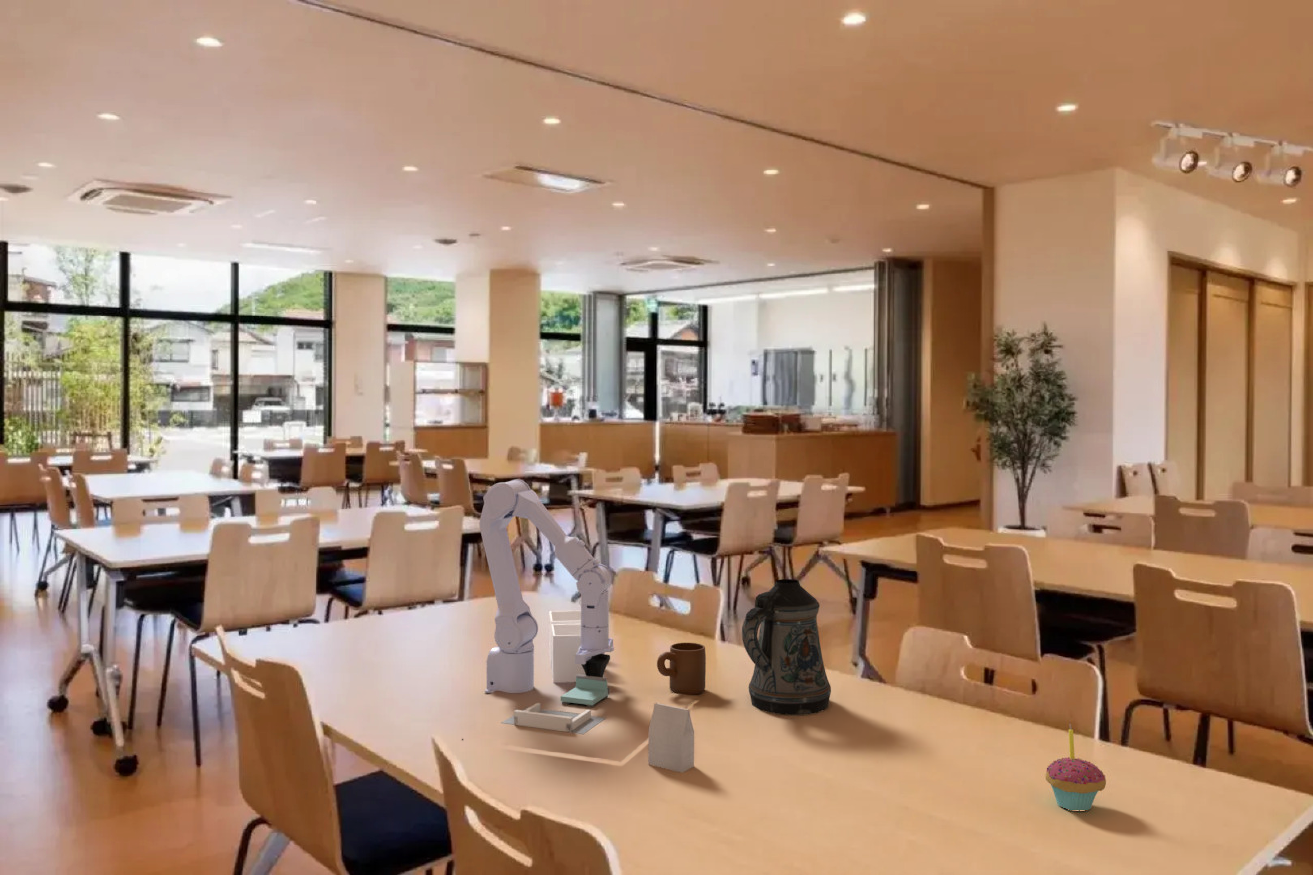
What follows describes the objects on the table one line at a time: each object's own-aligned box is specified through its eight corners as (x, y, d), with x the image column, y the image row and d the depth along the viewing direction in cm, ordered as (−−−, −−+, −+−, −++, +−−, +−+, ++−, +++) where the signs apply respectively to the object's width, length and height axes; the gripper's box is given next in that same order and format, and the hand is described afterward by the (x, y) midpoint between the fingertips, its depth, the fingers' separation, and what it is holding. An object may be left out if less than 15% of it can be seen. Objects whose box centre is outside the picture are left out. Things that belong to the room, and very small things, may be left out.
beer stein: (839, 697, 211) (841, 577, 210) (813, 725, 193) (814, 593, 192) (763, 687, 218) (764, 571, 217) (731, 713, 200) (732, 586, 199)
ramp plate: (545, 710, 199) (545, 709, 199) (556, 706, 204) (557, 705, 204) (587, 715, 196) (587, 715, 196) (598, 711, 201) (598, 710, 201)
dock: (501, 726, 191) (501, 709, 191) (526, 711, 201) (526, 695, 200) (583, 737, 185) (583, 720, 185) (605, 721, 194) (606, 704, 194)
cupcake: (1035, 796, 159) (1036, 720, 159) (1087, 794, 160) (1089, 718, 160) (1061, 818, 151) (1063, 738, 150) (1116, 817, 152) (1118, 737, 151)
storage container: (549, 657, 243) (549, 611, 242) (595, 655, 244) (595, 610, 244) (553, 686, 218) (553, 636, 218) (604, 685, 220) (604, 634, 219)
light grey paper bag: (682, 773, 168) (682, 713, 168) (648, 764, 172) (648, 706, 172) (693, 766, 171) (694, 707, 171) (660, 758, 175) (660, 700, 175)
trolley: (560, 707, 203) (560, 683, 203) (578, 696, 211) (578, 673, 210) (592, 711, 201) (592, 687, 200) (609, 700, 208) (609, 676, 208)
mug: (669, 702, 207) (670, 656, 207) (645, 693, 213) (646, 649, 212) (712, 691, 215) (713, 647, 214) (688, 683, 220) (688, 640, 220)
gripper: (597, 634, 201) (597, 702, 202) (626, 619, 215) (626, 683, 215) (565, 631, 204) (565, 698, 204) (595, 616, 217) (595, 679, 218)
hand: (594, 690), depth 210 cm, fingers closed
